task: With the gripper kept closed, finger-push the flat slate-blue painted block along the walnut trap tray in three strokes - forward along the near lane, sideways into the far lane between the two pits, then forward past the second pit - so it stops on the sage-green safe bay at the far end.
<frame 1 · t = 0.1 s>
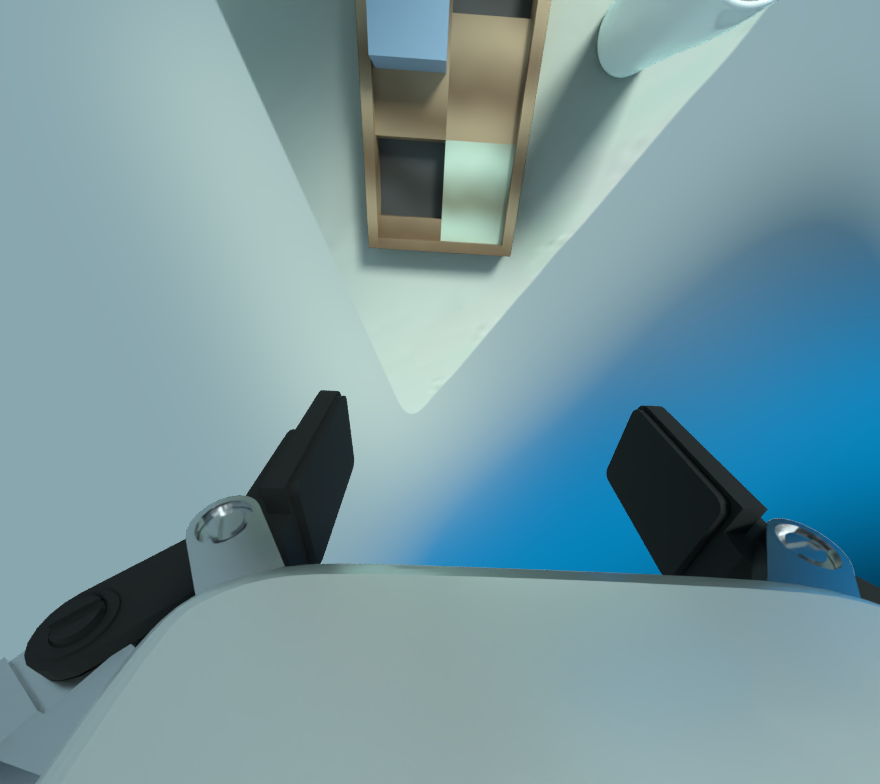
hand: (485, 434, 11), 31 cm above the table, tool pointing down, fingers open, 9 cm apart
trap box: (449, 64, 28), on the table
drinking glass: (625, 38, 28), on the table
block: (411, 18, 26), point 2 cm above the table, touching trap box
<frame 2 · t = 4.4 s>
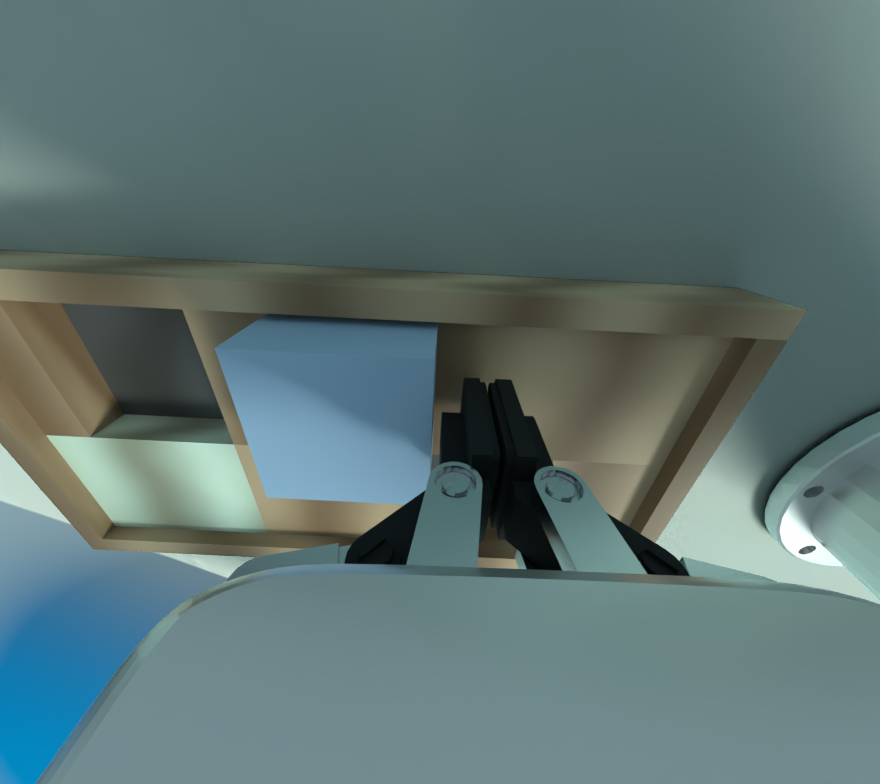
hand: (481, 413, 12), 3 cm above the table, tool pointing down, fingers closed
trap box: (365, 423, 16), on the table
block: (360, 390, 13), point 2 cm above the table, touching gripper, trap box
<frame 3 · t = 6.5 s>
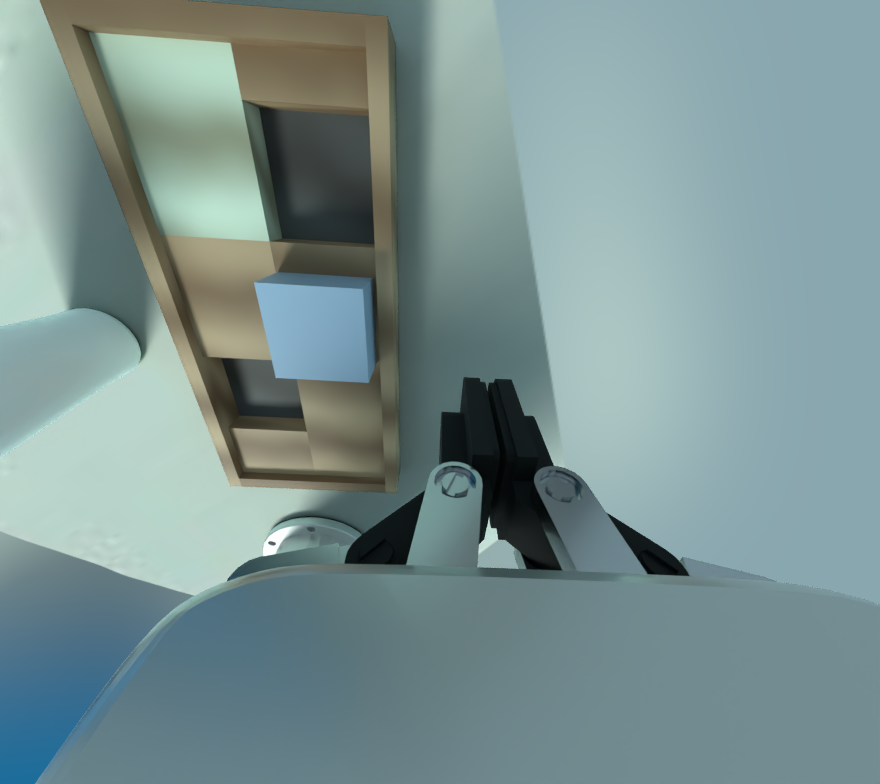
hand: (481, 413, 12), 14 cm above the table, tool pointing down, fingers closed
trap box: (297, 319, 24), on the table
drinking glass: (110, 338, 25), on the table
block: (330, 320, 22), point 2 cm above the table, touching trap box
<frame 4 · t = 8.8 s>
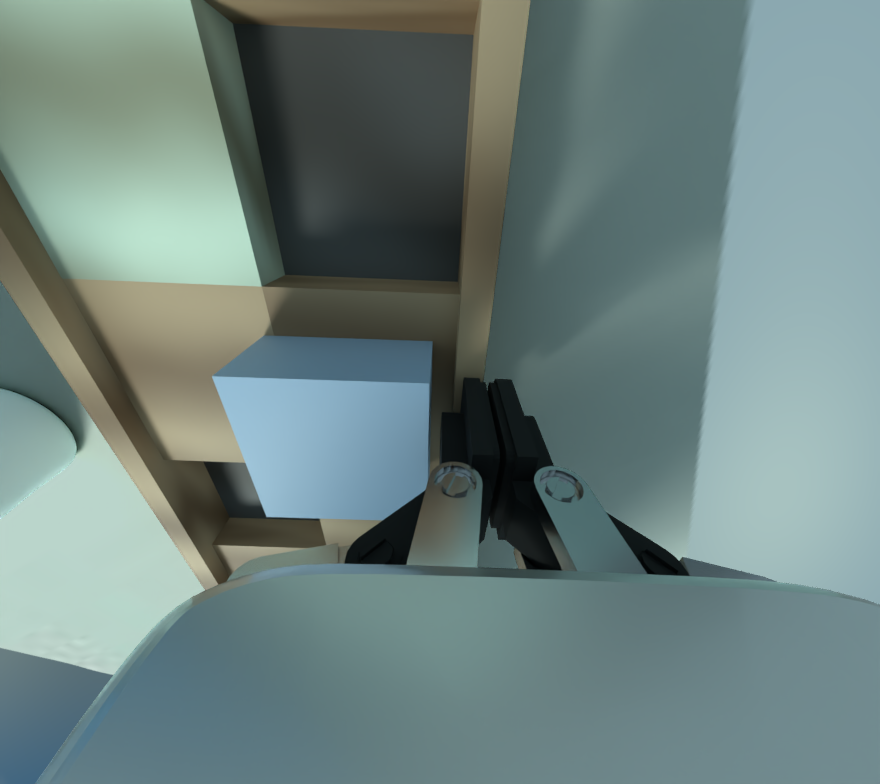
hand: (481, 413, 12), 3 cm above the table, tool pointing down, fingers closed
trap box: (312, 395, 15), on the table
drinking glass: (29, 423, 16), on the table
block: (357, 407, 13), point 2 cm above the table, touching gripper
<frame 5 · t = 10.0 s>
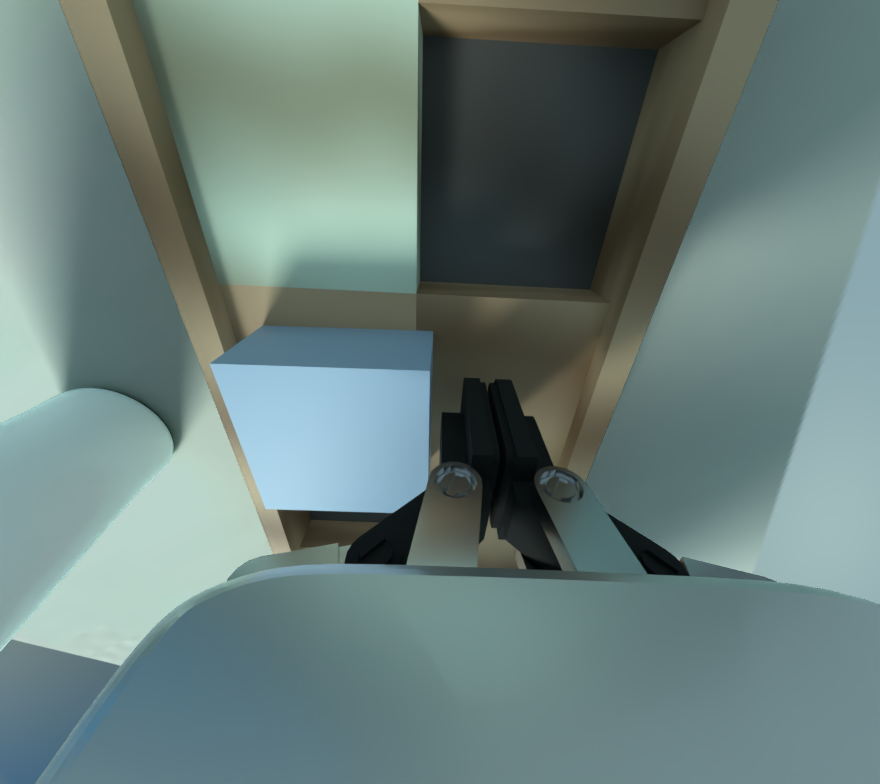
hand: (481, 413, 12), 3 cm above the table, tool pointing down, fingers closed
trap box: (418, 399, 15), on the table
drinking glass: (127, 425, 17), on the table
block: (357, 399, 13), point 2 cm above the table, touching gripper, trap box
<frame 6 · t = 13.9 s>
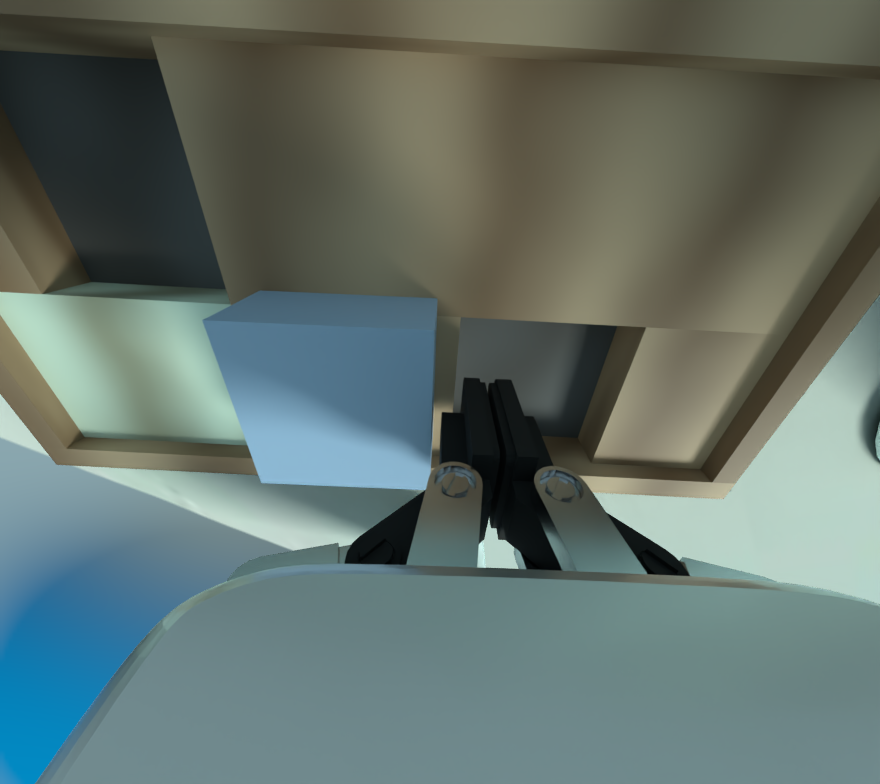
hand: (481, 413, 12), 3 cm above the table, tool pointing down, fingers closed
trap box: (396, 297, 13), on the table
block: (357, 372, 12), point 2 cm above the table, touching gripper, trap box
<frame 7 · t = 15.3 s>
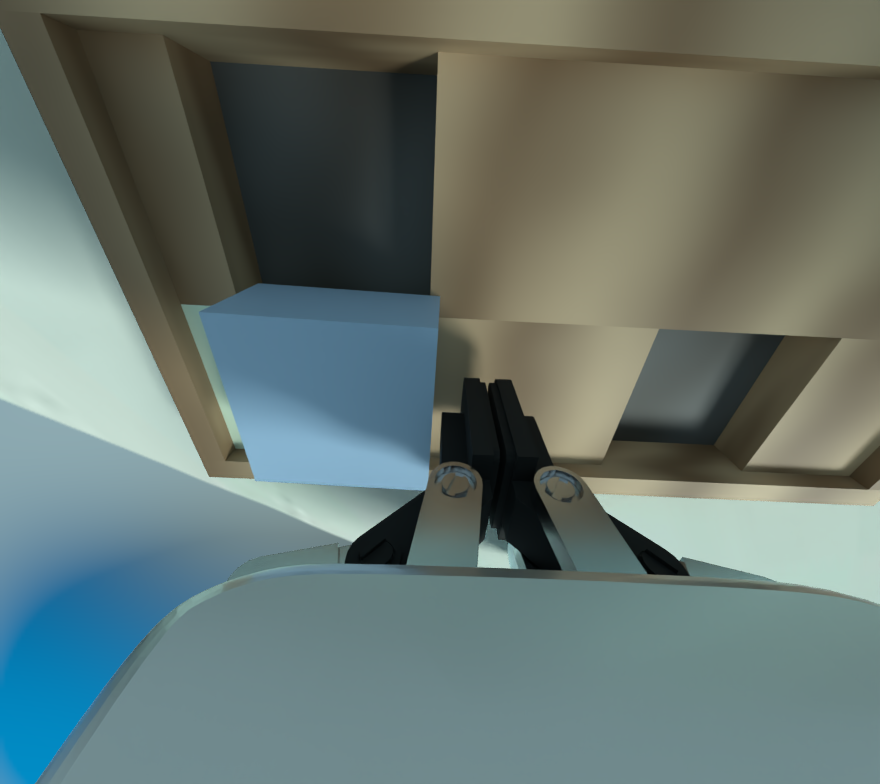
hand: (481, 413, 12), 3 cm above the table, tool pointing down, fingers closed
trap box: (569, 307, 13), on the table
block: (356, 369, 12), point 2 cm above the table, touching gripper, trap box
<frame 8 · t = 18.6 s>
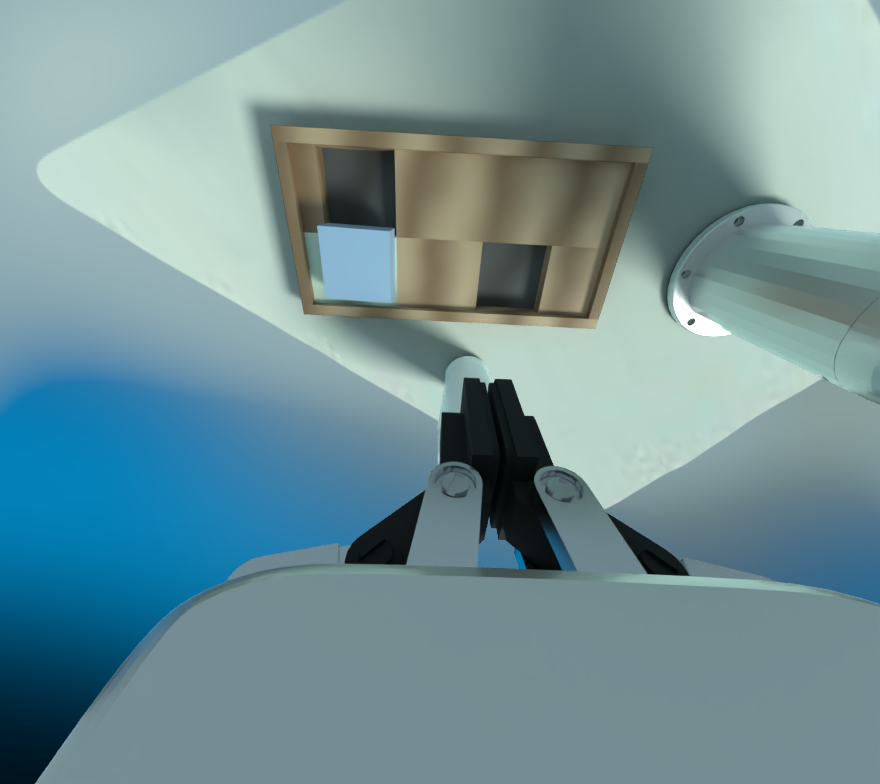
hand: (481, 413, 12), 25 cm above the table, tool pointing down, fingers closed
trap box: (455, 237, 31), on the table
drinking glass: (466, 373, 40), on the table
block: (363, 260, 31), point 2 cm above the table, touching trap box
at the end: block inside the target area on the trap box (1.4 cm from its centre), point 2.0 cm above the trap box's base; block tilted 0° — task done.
